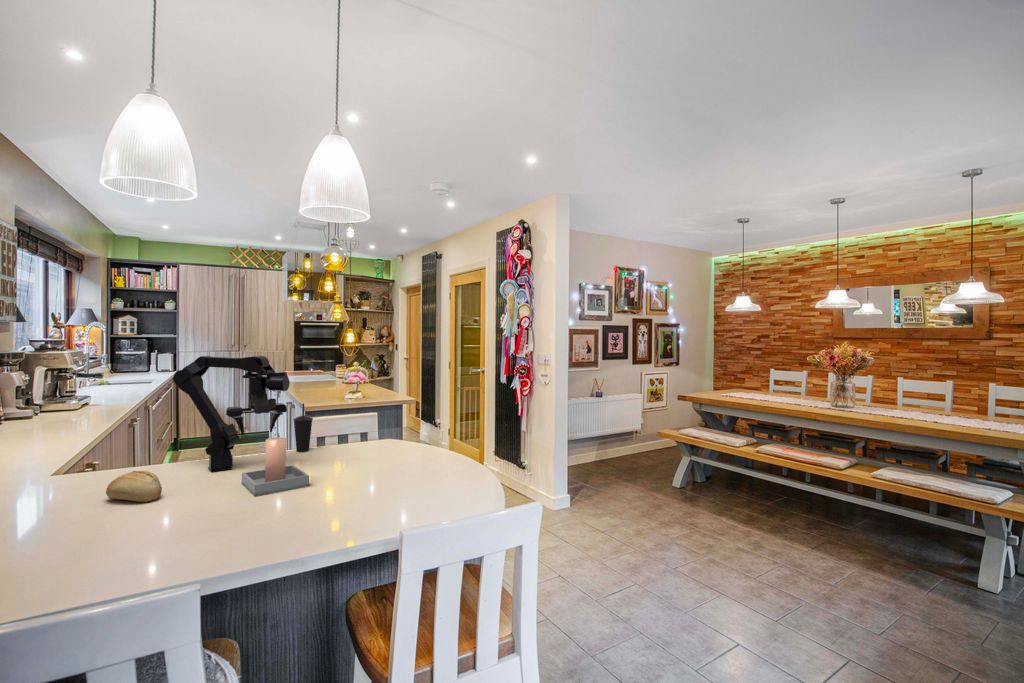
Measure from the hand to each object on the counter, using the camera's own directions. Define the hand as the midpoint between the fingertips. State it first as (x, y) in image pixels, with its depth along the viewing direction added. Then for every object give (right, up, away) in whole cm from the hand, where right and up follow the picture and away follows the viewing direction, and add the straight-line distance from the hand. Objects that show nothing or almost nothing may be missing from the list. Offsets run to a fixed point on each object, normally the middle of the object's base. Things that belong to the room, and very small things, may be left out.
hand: (257, 433), depth 171 cm
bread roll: (-18, -13, -32) cm, 40 cm away
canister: (+15, -13, -17) cm, 26 cm away
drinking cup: (+4, -13, +28) cm, 31 cm away
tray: (+15, -14, -17) cm, 26 cm away
